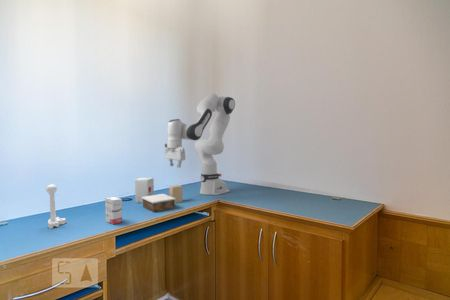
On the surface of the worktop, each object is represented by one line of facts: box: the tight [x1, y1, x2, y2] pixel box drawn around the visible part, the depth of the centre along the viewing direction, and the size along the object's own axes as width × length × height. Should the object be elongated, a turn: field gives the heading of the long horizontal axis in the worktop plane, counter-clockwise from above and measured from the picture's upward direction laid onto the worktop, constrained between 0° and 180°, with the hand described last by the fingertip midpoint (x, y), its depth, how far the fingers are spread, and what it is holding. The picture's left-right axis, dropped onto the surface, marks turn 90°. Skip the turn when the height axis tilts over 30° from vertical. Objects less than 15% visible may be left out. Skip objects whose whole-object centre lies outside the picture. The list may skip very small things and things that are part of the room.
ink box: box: [104, 196, 123, 225], centre depth 146 cm, size 9×5×12 cm, turn 48°
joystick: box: [45, 184, 67, 230], centre depth 142 cm, size 11×8×20 cm
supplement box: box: [134, 177, 155, 204], centre depth 187 cm, size 9×9×15 cm
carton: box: [168, 184, 184, 204], centre depth 186 cm, size 7×4×10 cm, turn 128°
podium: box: [142, 193, 176, 213], centre depth 172 cm, size 14×16×6 cm
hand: (175, 166), depth 184 cm, fingers open, 8 cm apart
